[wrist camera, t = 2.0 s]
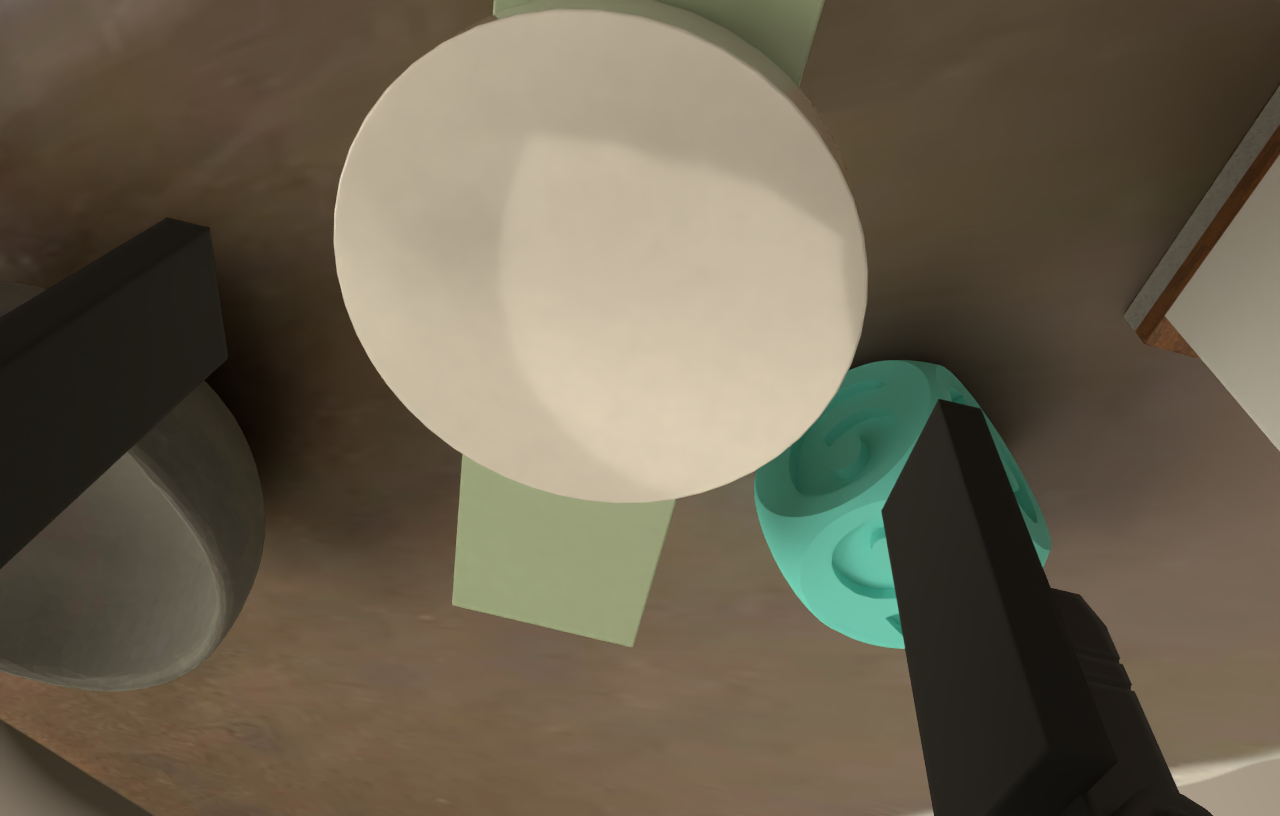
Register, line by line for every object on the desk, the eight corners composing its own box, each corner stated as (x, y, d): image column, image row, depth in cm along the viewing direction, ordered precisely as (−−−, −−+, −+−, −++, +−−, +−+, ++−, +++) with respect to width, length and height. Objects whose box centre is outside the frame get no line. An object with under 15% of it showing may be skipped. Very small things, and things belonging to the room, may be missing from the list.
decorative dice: (856, 533, 37) (875, 677, 31) (752, 423, 34) (748, 556, 28) (1019, 455, 33) (1079, 600, 27) (917, 324, 31) (956, 451, 24)
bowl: (170, 588, 47) (45, 742, 39) (-161, 323, 38) (-410, 450, 30) (413, 475, 39) (318, 640, 31) (64, 106, 30) (-196, 201, 22)
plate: (362, -70, 14) (316, -60, 13) (946, 68, 14) (967, 92, 13) (372, 404, 21) (342, 445, 19) (775, 498, 21) (775, 547, 19)
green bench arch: (541, -517, 19) (305, -893, 9) (1022, -403, 19) (1282, -662, 9) (472, 398, 36) (361, 603, 26) (730, 459, 36) (716, 687, 26)
